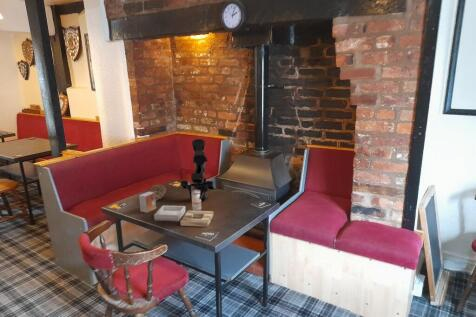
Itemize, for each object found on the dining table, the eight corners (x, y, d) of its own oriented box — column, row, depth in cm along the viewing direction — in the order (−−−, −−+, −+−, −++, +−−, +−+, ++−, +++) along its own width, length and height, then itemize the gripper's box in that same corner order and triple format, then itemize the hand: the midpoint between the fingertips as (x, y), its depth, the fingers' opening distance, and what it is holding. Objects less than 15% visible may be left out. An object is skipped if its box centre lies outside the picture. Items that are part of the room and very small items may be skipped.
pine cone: (159, 195, 234) (157, 181, 231) (170, 197, 229) (169, 183, 227) (135, 206, 215) (134, 191, 213) (146, 208, 211) (145, 193, 208)
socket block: (188, 214, 200) (188, 210, 200) (213, 215, 198) (213, 211, 197) (180, 225, 186) (180, 221, 185) (207, 226, 184) (207, 222, 183)
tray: (163, 210, 206) (162, 205, 206) (185, 211, 205) (185, 206, 204) (154, 220, 193) (154, 214, 192) (178, 221, 191) (178, 215, 190)
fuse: (193, 207, 193) (192, 189, 190) (202, 207, 192) (201, 189, 190) (191, 210, 188) (190, 192, 186) (200, 210, 187) (199, 192, 185)
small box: (146, 213, 204) (145, 196, 201) (140, 211, 206) (138, 195, 204) (156, 208, 210) (155, 192, 208) (149, 207, 213) (148, 191, 211)
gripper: (180, 166, 190) (175, 192, 182) (213, 167, 187) (209, 193, 179) (185, 175, 199) (180, 200, 191) (216, 176, 196) (213, 201, 189)
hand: (195, 198), depth 187 cm, fingers closed on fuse, 5 cm apart
